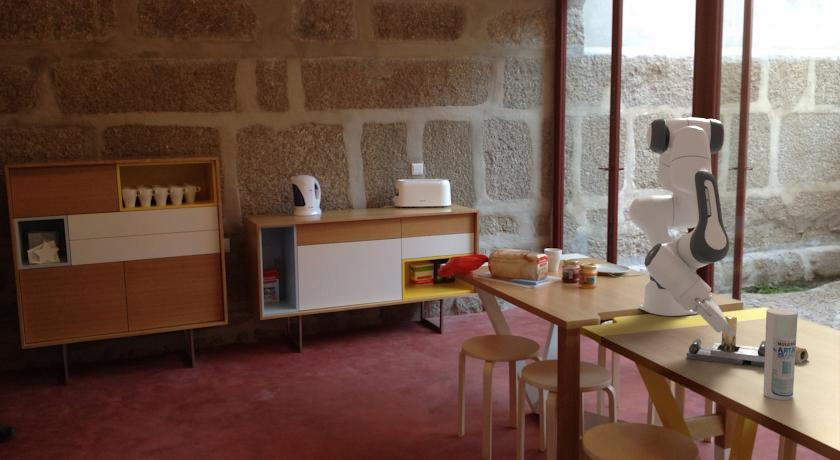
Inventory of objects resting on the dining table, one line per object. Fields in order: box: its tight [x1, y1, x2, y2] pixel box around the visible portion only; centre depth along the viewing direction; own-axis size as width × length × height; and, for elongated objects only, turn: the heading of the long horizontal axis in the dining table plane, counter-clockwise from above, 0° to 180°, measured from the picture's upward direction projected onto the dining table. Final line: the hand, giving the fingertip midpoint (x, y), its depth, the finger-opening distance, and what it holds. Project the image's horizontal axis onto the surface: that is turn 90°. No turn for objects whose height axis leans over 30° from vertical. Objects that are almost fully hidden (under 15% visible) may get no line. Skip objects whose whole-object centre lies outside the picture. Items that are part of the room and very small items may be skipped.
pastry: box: [795, 346, 809, 364], centre depth 209 cm, size 9×7×4 cm
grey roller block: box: [686, 338, 765, 368], centre depth 209 cm, size 20×8×5 cm, turn 61°
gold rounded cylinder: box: [720, 315, 738, 352], centre depth 208 cm, size 4×4×10 cm
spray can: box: [763, 307, 799, 401], centre depth 180 cm, size 6×6×20 cm
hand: (731, 332), depth 208 cm, fingers closed on gold rounded cylinder, 3 cm apart
